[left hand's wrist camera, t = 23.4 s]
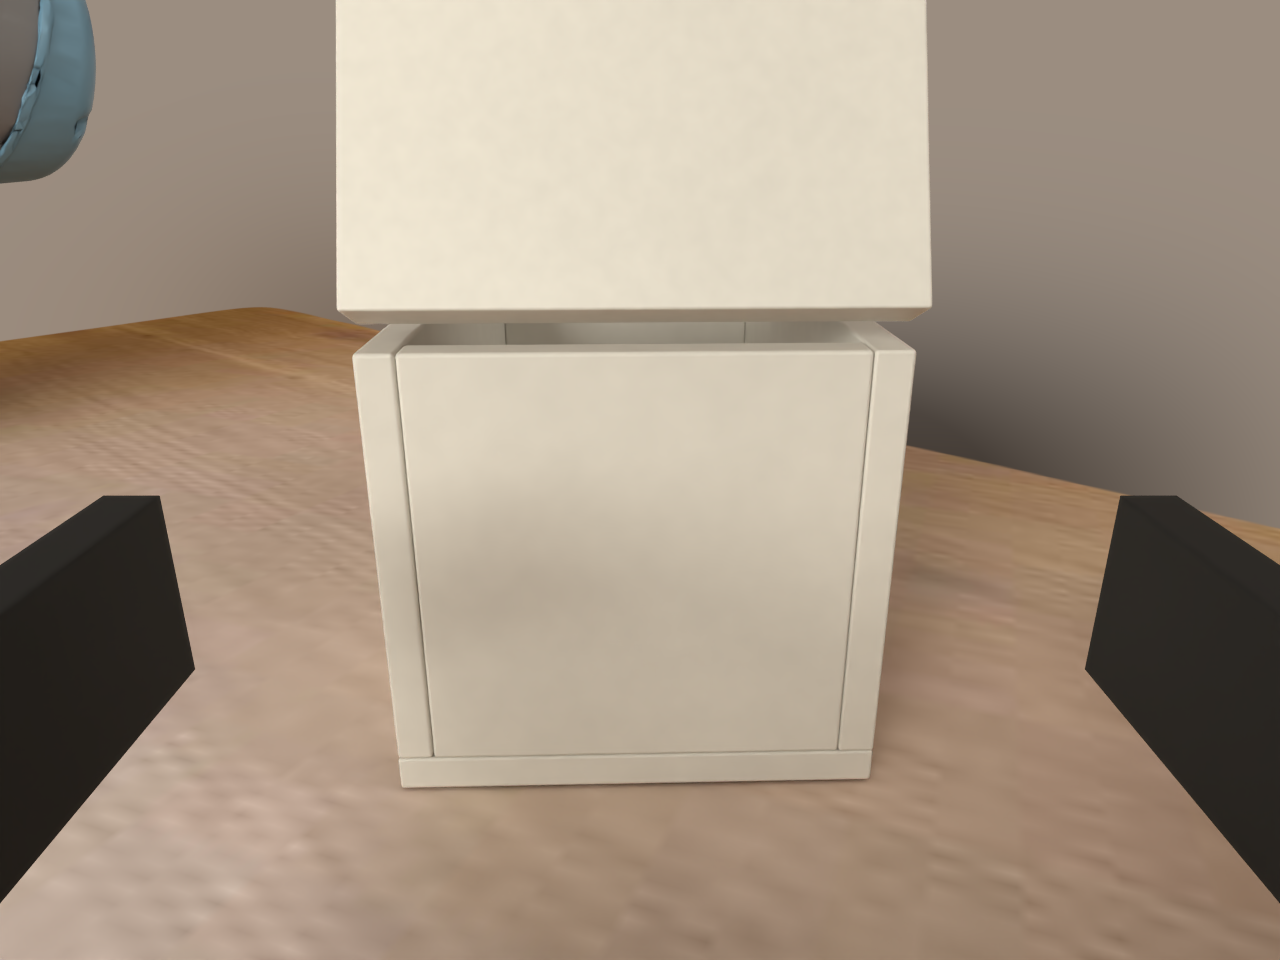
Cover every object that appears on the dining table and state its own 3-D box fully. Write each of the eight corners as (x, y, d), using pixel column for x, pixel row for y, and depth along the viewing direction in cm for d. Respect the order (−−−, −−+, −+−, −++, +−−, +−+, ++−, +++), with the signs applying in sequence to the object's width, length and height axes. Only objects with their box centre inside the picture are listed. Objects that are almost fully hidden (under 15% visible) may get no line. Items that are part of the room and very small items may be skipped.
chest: (496, 495, 35) (481, 245, 31) (755, 492, 35) (766, 244, 32) (401, 789, 19) (350, 354, 16) (870, 780, 19) (918, 350, 16)
